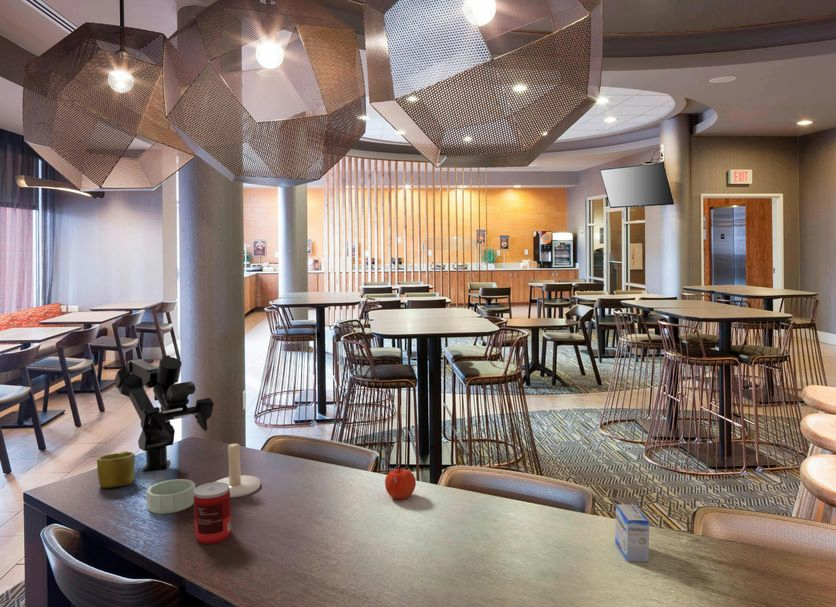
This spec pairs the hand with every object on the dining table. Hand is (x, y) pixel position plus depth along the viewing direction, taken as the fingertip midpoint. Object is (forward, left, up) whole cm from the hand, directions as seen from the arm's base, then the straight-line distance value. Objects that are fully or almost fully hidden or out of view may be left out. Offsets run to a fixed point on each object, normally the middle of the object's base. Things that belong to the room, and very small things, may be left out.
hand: (189, 433), depth 156 cm
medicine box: (+61, +93, -16) cm, 112 cm away
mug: (-12, -21, -16) cm, 29 cm away
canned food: (+30, +8, -16) cm, 35 cm away
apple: (+20, +53, -16) cm, 59 cm away
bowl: (+9, -4, -16) cm, 18 cm away
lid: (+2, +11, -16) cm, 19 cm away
